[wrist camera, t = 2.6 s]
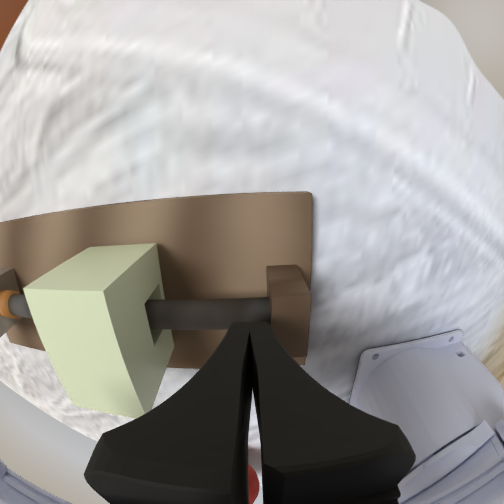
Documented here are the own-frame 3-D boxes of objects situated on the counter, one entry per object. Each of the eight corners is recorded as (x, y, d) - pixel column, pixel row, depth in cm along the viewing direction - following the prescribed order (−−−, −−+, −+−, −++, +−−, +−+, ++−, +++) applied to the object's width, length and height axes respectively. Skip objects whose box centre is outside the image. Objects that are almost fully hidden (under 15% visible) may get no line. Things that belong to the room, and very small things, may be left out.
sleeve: (156, 243, 13) (103, 291, 7) (174, 346, 15) (147, 420, 9) (89, 247, 13) (22, 288, 7) (113, 342, 15) (73, 405, 9)
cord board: (307, 191, 14) (338, 203, 9) (302, 354, 17) (317, 412, 12) (-16, 225, 14) (-58, 242, 9) (16, 336, 16) (-15, 366, 12)
